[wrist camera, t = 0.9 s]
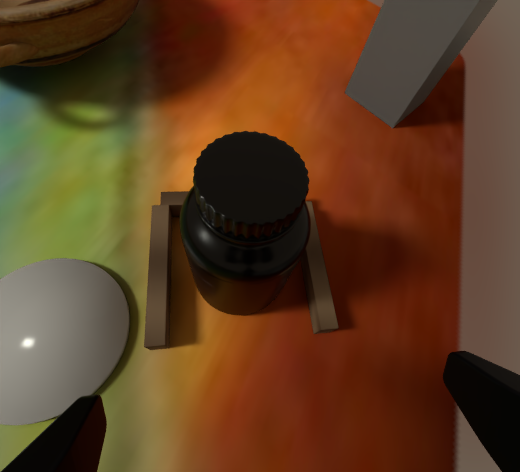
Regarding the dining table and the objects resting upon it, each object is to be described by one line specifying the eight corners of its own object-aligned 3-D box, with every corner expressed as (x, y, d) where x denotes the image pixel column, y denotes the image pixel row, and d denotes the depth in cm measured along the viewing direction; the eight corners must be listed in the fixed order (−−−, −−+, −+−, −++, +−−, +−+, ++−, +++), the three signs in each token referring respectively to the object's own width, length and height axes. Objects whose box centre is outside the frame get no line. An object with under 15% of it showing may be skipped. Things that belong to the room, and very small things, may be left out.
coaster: (161, 319, 20) (160, 317, 20) (28, 466, 16) (23, 469, 16) (62, 235, 22) (59, 232, 22) (-81, 349, 18) (-89, 348, 18)
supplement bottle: (257, 220, 25) (285, 97, 14) (299, 291, 23) (370, 209, 12) (178, 252, 23) (142, 136, 12) (216, 335, 20) (212, 282, 10)
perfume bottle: (392, 128, 32) (566, -128, 16) (344, 92, 34) (458, -172, 18) (423, 102, 35) (599, -141, 19) (377, 70, 36) (503, -178, 20)
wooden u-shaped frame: (329, 332, 22) (338, 328, 20) (150, 350, 20) (144, 346, 18) (303, 200, 26) (308, 189, 25) (157, 204, 24) (153, 192, 23)
